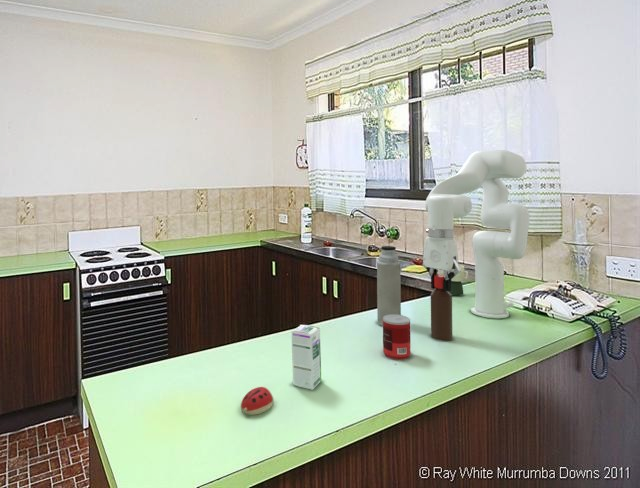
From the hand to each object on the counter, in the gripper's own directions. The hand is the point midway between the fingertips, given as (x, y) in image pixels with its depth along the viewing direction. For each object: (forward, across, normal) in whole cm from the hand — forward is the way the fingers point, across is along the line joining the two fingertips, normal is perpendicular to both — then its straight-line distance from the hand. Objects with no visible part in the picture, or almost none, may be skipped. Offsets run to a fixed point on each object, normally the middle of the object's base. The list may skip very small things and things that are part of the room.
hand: (441, 288), depth 144 cm
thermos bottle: (+16, -18, -4) cm, 25 cm away
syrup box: (+16, +2, -57) cm, 59 cm away
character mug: (+16, -29, +49) cm, 59 cm away
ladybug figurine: (+16, +6, -74) cm, 76 cm away
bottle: (+16, 0, 0) cm, 16 cm away
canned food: (+16, +2, -23) cm, 28 cm away
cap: (-1, 0, 0) cm, 1 cm away
